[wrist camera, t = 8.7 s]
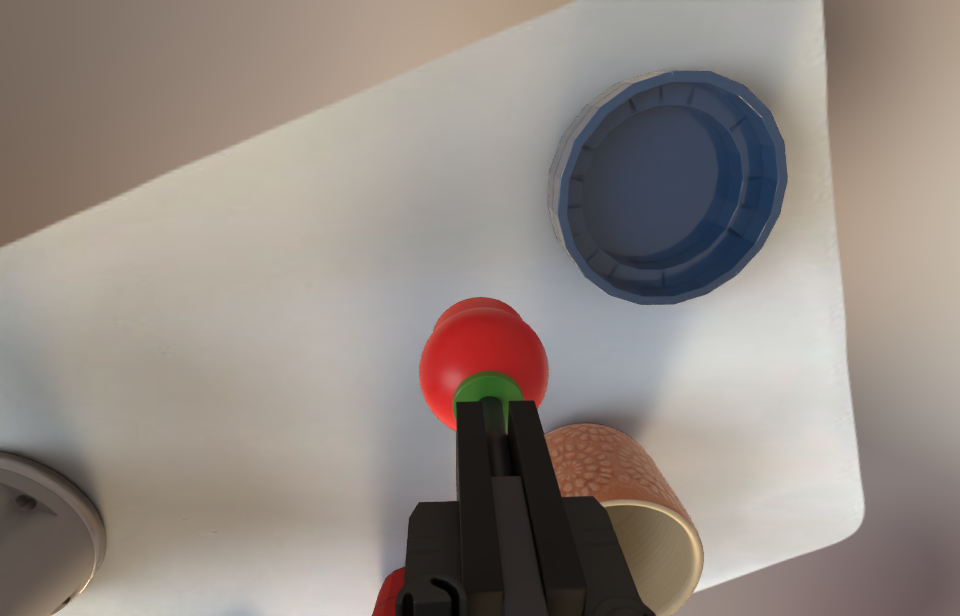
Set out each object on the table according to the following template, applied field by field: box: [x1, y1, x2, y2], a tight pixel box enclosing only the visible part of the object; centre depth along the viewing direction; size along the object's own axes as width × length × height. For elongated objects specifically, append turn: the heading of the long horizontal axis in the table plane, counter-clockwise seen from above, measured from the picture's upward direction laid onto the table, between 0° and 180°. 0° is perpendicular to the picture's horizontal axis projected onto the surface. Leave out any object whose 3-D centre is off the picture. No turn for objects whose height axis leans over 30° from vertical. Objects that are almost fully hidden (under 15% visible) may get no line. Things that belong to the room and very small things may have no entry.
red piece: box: [419, 297, 549, 616], centre depth 16 cm, size 5×5×15 cm
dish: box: [548, 71, 787, 305], centre depth 36 cm, size 14×14×4 cm
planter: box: [544, 423, 704, 616], centre depth 41 cm, size 12×12×11 cm
